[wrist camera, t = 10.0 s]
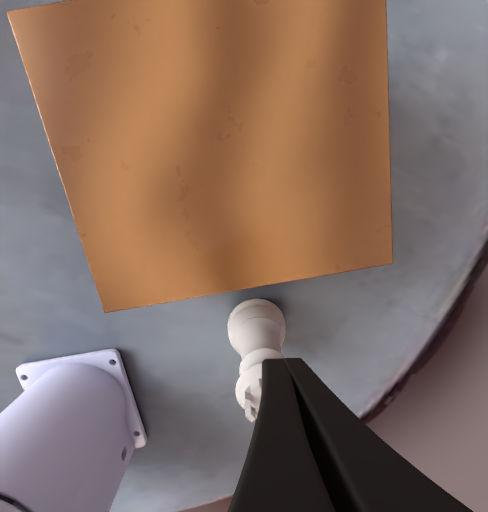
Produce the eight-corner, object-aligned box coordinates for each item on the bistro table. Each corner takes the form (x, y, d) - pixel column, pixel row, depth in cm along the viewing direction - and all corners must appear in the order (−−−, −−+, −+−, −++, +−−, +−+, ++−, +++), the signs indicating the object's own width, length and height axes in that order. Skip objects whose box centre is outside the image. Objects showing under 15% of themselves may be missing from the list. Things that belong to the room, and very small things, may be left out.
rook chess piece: (270, 286, 18) (296, 349, 11) (291, 334, 19) (330, 423, 12) (218, 309, 19) (206, 387, 11) (241, 355, 20) (246, 456, 12)
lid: (376, -40, 9) (385, -56, 9) (386, 261, 12) (393, 264, 12) (18, 22, 10) (4, 10, 9) (110, 308, 12) (104, 313, 12)
